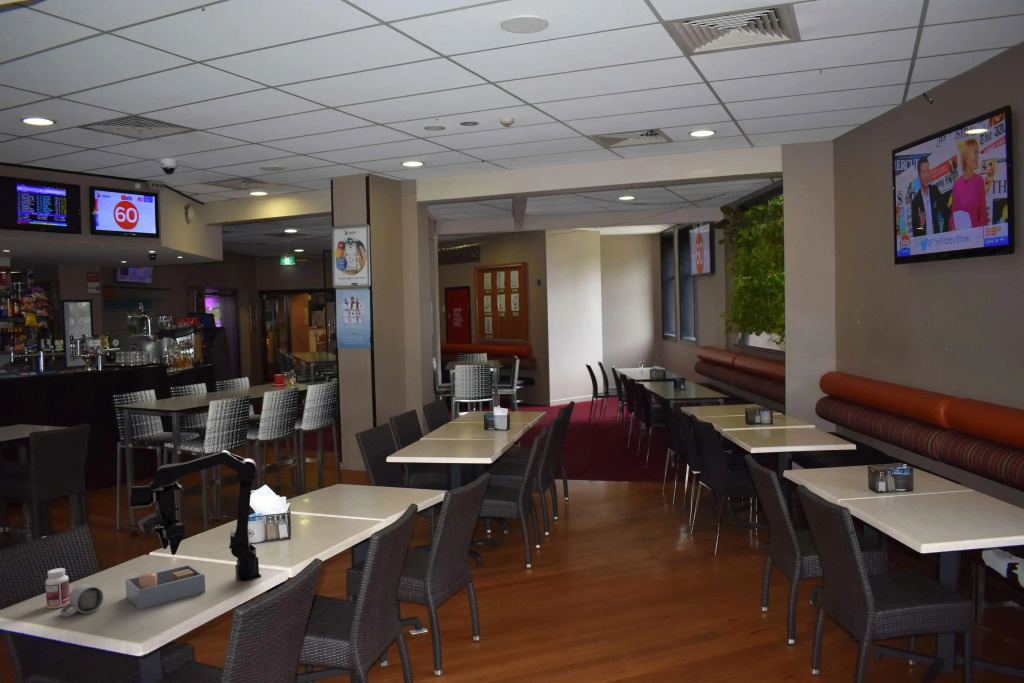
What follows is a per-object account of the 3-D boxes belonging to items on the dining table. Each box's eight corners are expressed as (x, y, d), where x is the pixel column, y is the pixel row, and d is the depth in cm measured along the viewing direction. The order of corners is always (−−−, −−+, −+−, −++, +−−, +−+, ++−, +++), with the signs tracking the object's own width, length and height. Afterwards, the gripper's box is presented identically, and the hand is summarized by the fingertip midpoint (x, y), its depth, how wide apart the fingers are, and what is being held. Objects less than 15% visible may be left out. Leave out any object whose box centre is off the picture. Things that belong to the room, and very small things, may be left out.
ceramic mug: (93, 603, 229) (91, 578, 229) (104, 608, 224) (102, 583, 223) (56, 615, 221) (54, 589, 220) (66, 621, 215) (64, 595, 215)
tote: (190, 580, 246) (189, 564, 245) (205, 591, 235) (204, 574, 234) (126, 597, 233) (125, 579, 233) (138, 609, 222) (137, 591, 222)
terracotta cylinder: (156, 592, 234) (155, 571, 234) (159, 597, 230) (158, 574, 230) (138, 596, 231) (137, 574, 231) (141, 600, 227) (140, 578, 227)
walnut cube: (173, 588, 237) (172, 572, 237) (189, 584, 241) (188, 568, 241) (178, 591, 234) (177, 576, 234) (194, 587, 237) (193, 572, 237)
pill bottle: (66, 600, 232) (64, 565, 232) (73, 604, 228) (70, 569, 228) (44, 606, 228) (42, 571, 228) (50, 610, 224) (48, 575, 223)
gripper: (132, 504, 241) (134, 551, 241) (148, 514, 226) (150, 564, 227) (168, 498, 248) (170, 543, 248) (185, 507, 234) (188, 555, 234)
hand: (169, 551), depth 239 cm, fingers open, 9 cm apart
